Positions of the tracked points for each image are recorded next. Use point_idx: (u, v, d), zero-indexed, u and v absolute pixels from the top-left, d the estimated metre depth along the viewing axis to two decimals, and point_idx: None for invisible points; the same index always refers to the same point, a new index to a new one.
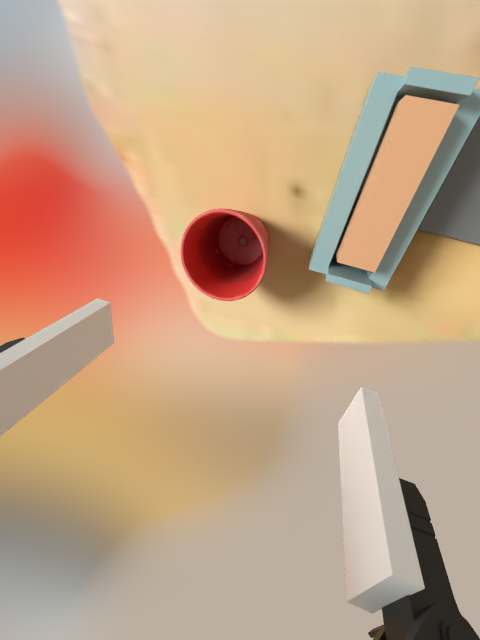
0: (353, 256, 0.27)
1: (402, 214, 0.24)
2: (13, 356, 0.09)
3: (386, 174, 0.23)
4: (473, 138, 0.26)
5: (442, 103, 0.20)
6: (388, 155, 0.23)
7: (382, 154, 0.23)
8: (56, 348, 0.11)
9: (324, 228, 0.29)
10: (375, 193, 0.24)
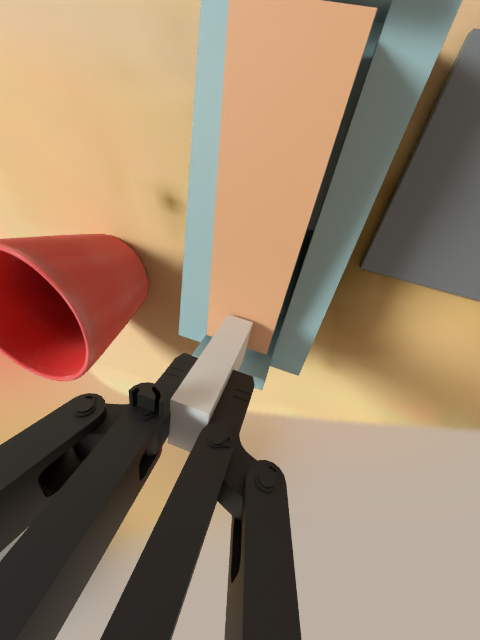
0: None
1: (288, 274, 0.12)
2: (202, 372, 0.11)
3: (240, 199, 0.11)
4: (447, 105, 0.13)
5: (329, 7, 0.07)
6: (232, 158, 0.10)
7: (220, 155, 0.10)
8: None
9: (184, 273, 0.16)
10: (230, 235, 0.12)
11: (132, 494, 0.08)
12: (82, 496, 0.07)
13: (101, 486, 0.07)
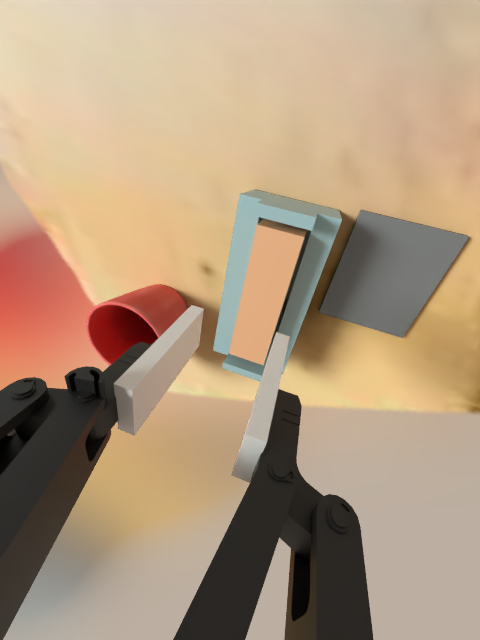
0: (241, 350, 0.28)
1: (276, 320, 0.25)
2: (152, 359, 0.11)
3: (255, 286, 0.24)
4: (354, 239, 0.27)
5: (289, 234, 0.21)
6: (253, 271, 0.23)
7: (247, 270, 0.23)
8: (174, 351, 0.12)
9: (219, 317, 0.30)
10: (248, 301, 0.25)
11: (82, 475, 0.08)
12: (24, 479, 0.07)
13: (44, 467, 0.07)
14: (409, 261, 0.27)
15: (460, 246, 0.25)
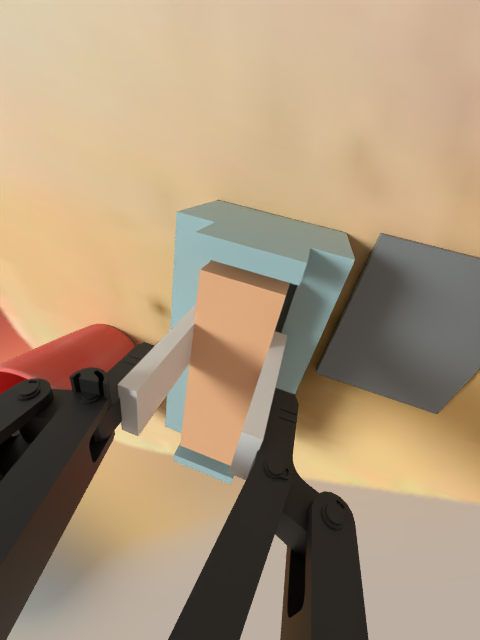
0: (197, 444, 0.18)
1: (245, 413, 0.16)
2: (156, 359, 0.11)
3: (207, 364, 0.14)
4: (369, 277, 0.17)
5: (259, 289, 0.11)
6: (202, 342, 0.14)
7: (193, 339, 0.14)
8: (177, 352, 0.12)
9: None
10: (200, 383, 0.15)
11: (86, 476, 0.08)
12: (29, 480, 0.07)
13: (48, 468, 0.07)
14: (456, 313, 0.17)
15: None
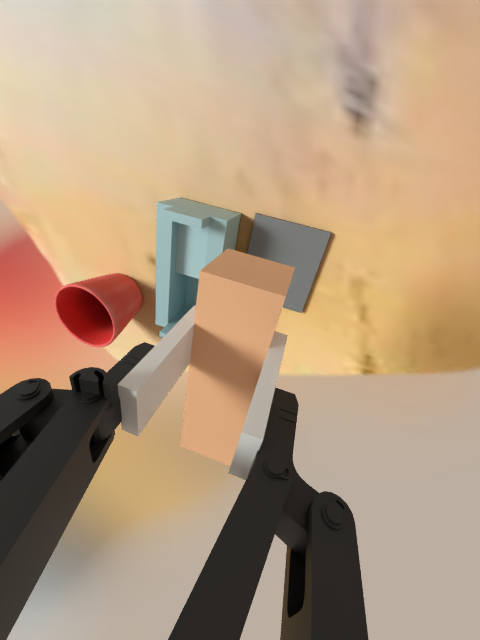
0: (197, 444, 0.19)
1: (245, 414, 0.16)
2: (156, 359, 0.11)
3: (207, 365, 0.14)
4: (254, 235, 0.36)
5: (258, 290, 0.11)
6: (202, 343, 0.14)
7: (193, 340, 0.14)
8: (177, 352, 0.12)
9: (156, 297, 0.38)
10: (200, 384, 0.15)
11: (86, 476, 0.08)
12: (29, 480, 0.07)
13: (49, 468, 0.07)
14: (295, 252, 0.35)
15: (326, 240, 0.33)
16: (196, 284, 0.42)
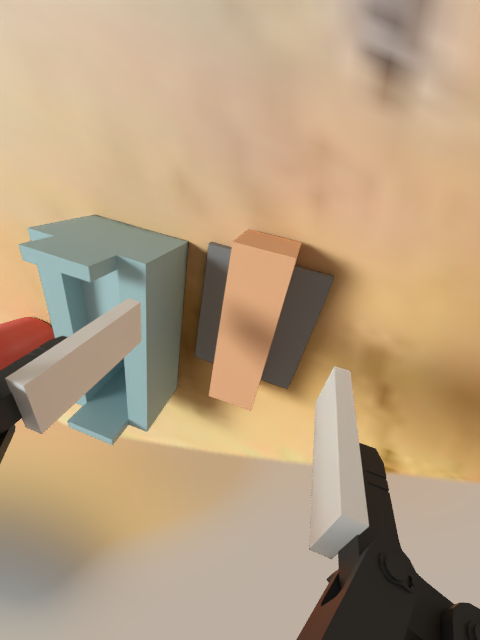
0: (223, 392, 0.23)
1: (264, 360, 0.20)
2: (61, 353, 0.10)
3: (235, 319, 0.19)
4: (209, 276, 0.22)
5: (276, 254, 0.16)
6: (231, 301, 0.18)
7: (224, 299, 0.18)
8: (95, 346, 0.11)
9: None
10: (228, 336, 0.20)
11: None
12: None
13: None
14: None
15: (326, 290, 0.20)
16: None
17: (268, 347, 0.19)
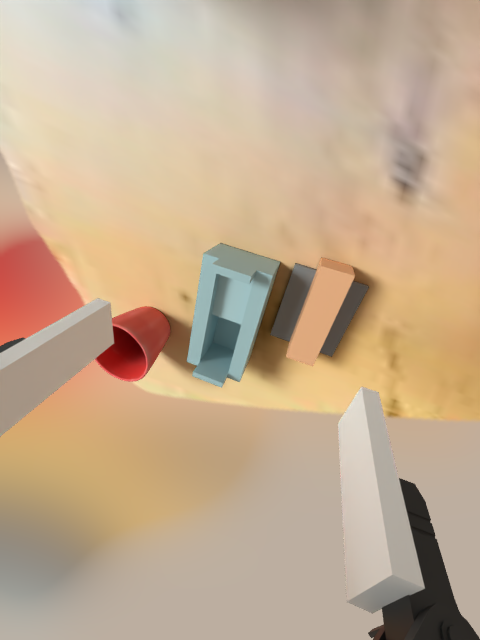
0: (296, 354, 0.37)
1: (327, 332, 0.34)
2: (13, 356, 0.09)
3: (313, 308, 0.33)
4: (291, 283, 0.37)
5: (344, 273, 0.30)
6: (313, 297, 0.32)
7: (309, 296, 0.33)
8: (56, 348, 0.11)
9: (191, 337, 0.39)
10: (307, 318, 0.34)
11: None
12: None
13: None
14: None
15: (364, 293, 0.34)
16: (227, 322, 0.43)
17: (331, 324, 0.33)
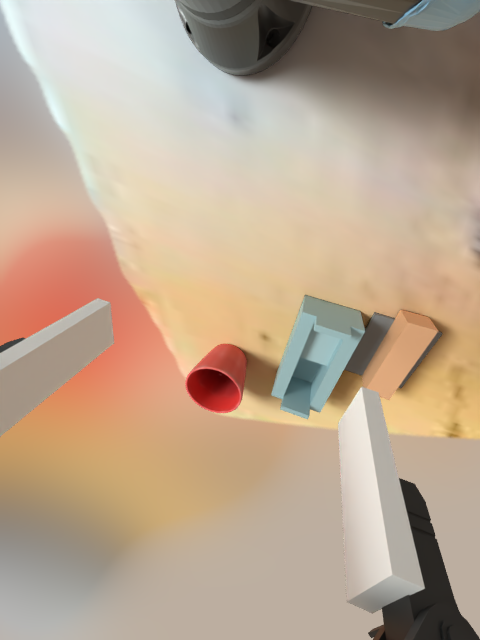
0: (374, 390, 0.43)
1: (406, 373, 0.40)
2: (13, 356, 0.09)
3: (396, 354, 0.38)
4: (369, 329, 0.42)
5: (428, 329, 0.35)
6: (397, 346, 0.38)
7: (394, 345, 0.38)
8: (56, 348, 0.11)
9: (279, 376, 0.45)
10: (389, 362, 0.39)
11: None
12: None
13: None
14: None
15: (437, 338, 0.40)
16: (303, 358, 0.48)
17: (411, 367, 0.39)
